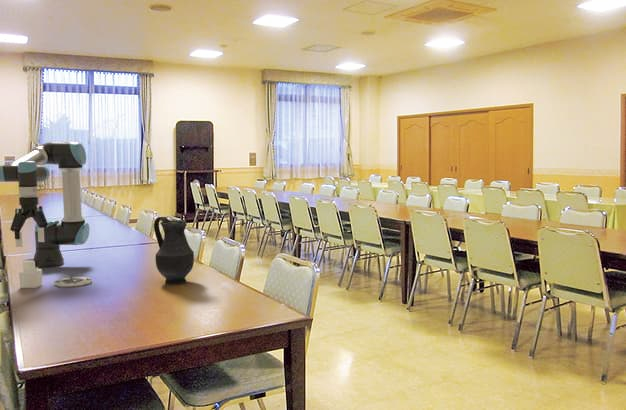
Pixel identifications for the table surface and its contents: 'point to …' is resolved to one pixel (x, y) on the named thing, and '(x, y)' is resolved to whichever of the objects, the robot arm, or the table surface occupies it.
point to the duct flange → (72, 282)
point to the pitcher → (173, 251)
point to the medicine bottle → (30, 274)
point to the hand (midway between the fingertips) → (30, 244)
